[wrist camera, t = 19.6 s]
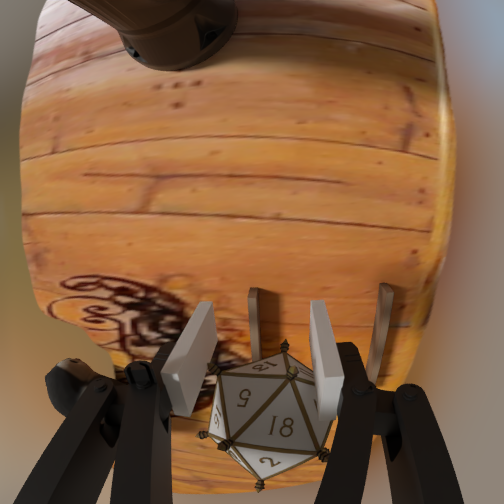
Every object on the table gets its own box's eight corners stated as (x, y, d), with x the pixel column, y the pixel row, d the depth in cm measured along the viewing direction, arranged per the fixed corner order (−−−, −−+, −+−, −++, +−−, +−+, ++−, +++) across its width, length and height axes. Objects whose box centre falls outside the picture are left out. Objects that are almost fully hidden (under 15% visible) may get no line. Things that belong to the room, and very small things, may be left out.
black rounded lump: (157, 404, 53) (140, 457, 43) (75, 368, 52) (55, 415, 42) (152, 379, 39) (127, 454, 29) (47, 329, 38) (16, 391, 28)
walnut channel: (250, 287, 36) (247, 297, 33) (386, 282, 34) (394, 292, 31) (257, 389, 41) (255, 402, 39) (368, 383, 39) (372, 396, 37)
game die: (297, 329, 21) (409, 371, 12) (274, 423, 20) (360, 488, 12) (182, 320, 16) (271, 399, 8) (168, 431, 16) (230, 538, 7)
